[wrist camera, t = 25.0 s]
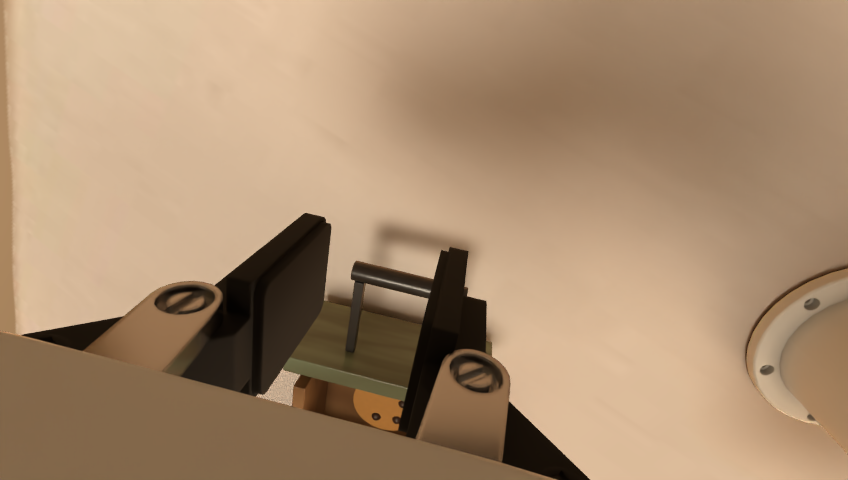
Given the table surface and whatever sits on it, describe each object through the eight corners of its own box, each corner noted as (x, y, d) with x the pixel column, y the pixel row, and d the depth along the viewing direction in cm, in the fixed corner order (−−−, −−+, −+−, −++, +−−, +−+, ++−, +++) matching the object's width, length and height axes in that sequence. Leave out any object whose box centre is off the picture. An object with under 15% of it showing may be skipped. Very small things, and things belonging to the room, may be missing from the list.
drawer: (331, 222, 30) (289, 264, 23) (516, 266, 29) (523, 322, 23) (309, 431, 38) (274, 502, 32) (451, 469, 37) (443, 549, 31)
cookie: (357, 400, 34) (348, 423, 32) (365, 350, 32) (356, 372, 30) (418, 416, 34) (413, 440, 32) (430, 367, 32) (426, 390, 30)
